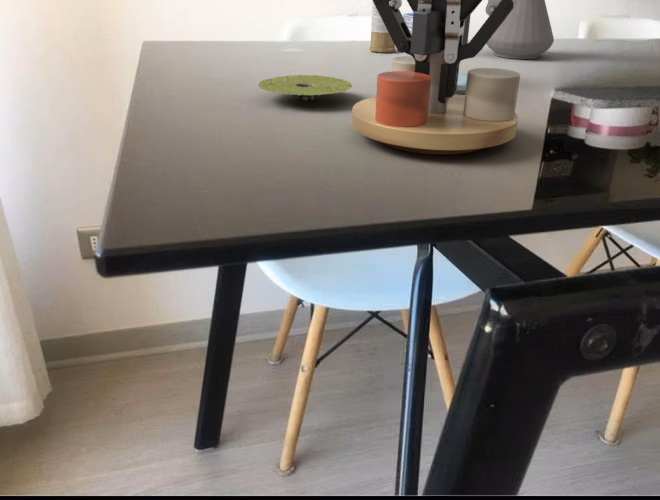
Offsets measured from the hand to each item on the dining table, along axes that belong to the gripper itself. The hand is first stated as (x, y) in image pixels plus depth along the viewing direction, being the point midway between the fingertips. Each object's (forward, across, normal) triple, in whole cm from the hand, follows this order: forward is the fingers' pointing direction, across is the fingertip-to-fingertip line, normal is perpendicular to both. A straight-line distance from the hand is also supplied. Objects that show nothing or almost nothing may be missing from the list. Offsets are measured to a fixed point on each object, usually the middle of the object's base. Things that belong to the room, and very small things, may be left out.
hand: (433, 100), depth 61 cm
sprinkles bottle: (+4, +19, -50) cm, 54 cm away
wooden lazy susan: (+3, 0, 0) cm, 3 cm away
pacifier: (+4, +1, -19) cm, 20 cm away
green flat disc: (+4, +18, -10) cm, 21 cm away
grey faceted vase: (+4, -8, -56) cm, 56 cm away
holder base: (+4, 0, 0) cm, 4 cm away
